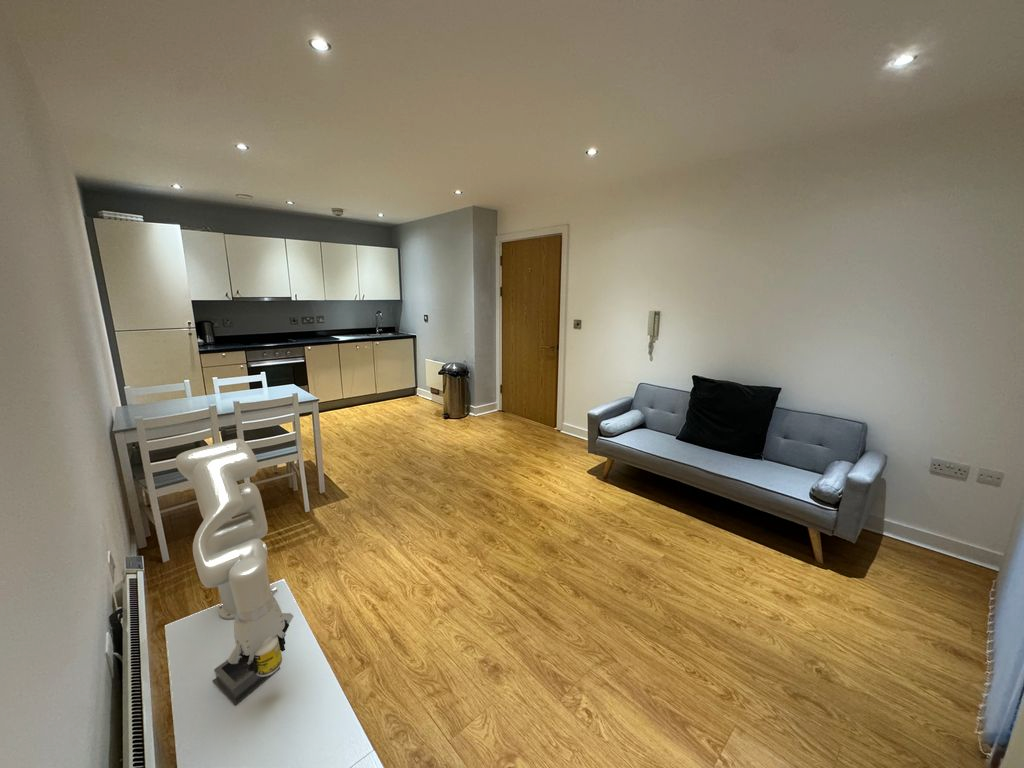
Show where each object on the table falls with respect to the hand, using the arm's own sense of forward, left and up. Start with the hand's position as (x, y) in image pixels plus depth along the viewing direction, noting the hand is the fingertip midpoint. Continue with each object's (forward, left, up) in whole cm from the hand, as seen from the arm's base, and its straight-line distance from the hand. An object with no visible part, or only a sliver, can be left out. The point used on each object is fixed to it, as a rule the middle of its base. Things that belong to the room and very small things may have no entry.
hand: (267, 658), depth 105 cm
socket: (-12, -1, -13) cm, 18 cm away
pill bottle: (0, 0, -3) cm, 3 cm away
